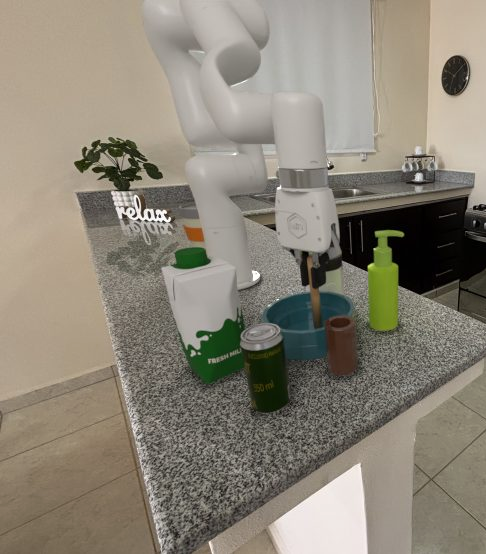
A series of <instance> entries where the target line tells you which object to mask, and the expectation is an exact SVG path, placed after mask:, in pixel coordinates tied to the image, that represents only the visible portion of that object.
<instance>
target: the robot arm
mask: <svg viewBox="0 0 486 554" xmlns="http://www.w3.org/2000/svg"><path fill="white" fill-rule="evenodd" d="M141 18H142V19H141V20H142V25H143V28H144V32H145V35H146V38H147V41H148V43H149V46H150V48H151V50H152V53H153V54H154V56H155V58H156V59H157V61H158V63H159V65H160V66H161V68H162V70H163V72H164V74H165V77H166V79H167V82H168V85H169V88H170V92H171V93H170V94H171V96H172V100H173V104H174V107H175V111H176V116H177V119H178V123H179V126H180V129H181V132H182V135H183V137H184V139H185V141H186V142H187V143H188V144H189V145H191V146H193V147H194V148H202V149H236V151H237V153H205V154H204V153H203V154H197V155H194V156H191V157H190V158H189V159H187V160H186V162H185V164H184V176H185V178H186V182H187V184H188V186H189V189H190V191H191V194H192V197H193V199H194V203H196V206H197V210H198V214H199V218H200V223H201V227H202V232H203V237H204V241H205V246H206V251H207V255H208V256H207V258H208V257H211V256H216V257H218V258H220V259H222V260H224V261H226V262H228V263H229V264H230V265H232V266H234V267H235V268H236V276H237V288H238V291H240V290H243V289H244V290H245V289H248V288H250V287H253V286H254V285H256V284H257V283H259V282H260V280H261V275H260V273H259V272H258V271H256V270H254V269H253V264H252V258H251V251H250V245H249V240H248V239H249V238H248V234H247V228H246V221H245V215H244V213H243V211H242V210H241V208H240V207H239V206H238V205H237V204H236V203H234V202H233V201H232V200H231V197H233V196H240V195H249V194H250V195H251V194H258V193H261V192H264V190H266V189H267V188H268V187H267V186H268V182H269V176H268V169H267V164H266V159H265V153H264V149H263V145H274V146H275V154H276V155H275V156H276V163H277V164H276V165H277V171H276V172H275V177H276V178H277V179H279V187H276V190H275V191H276V193H275V198H274V199H275V201H274V214H275V215H274V216H275V230H276V239H277V243H278V244H279V245H280V246H281V248H282V249H283V250H286V251H287V252H289V253H290V254H291V255H292V257H294V259H295V264H296V265H298V266H299V273H300V282H301V286H302V287H306V286H308V285H309V275H308V265H307V258H308V256H310V255H311V252H312V260H313V266H314V267H312V268H311V280H312V287H313V289H317V288H319V287H321V286H322V285H324V284H325V283H326V270H325V264H326V263H328V261H329V260H330V259H332V258H335V257H338V256H340V255H341V254H343V252H342V249H341V246H340V239H341V238H340V237H341V234H340V222H339V216H338V210H337V204H336V200H335V196H334V192H333V189H332V188H330V185H329V170H328V159H327V143H326V128H325V113H324V105H323V101H322V99H321V98H320V97H319V96H318V95H317V94H314V93H312V92H311V93H310V92H305V91H304V92H303V91H278V92H275V93H274V94H273V93H266V92H255V91H249V90H248V91H247V90H246V91H245V90H235V89H232V88H231V87H234V86H238V85H241V84H243V83H245V82H247V81H249V80H250V79H252V78H253V77H255V75H256V74H257V73H258V71H259V69H260V67H261V62H262V55H261V51H262V50H263V49H265V48H266V47H267V45H268V43H269V40H270V36H271V35H270V34H271V32H270V31H271V29H270V22H269V18H268V15H267V13H266V11H265V9H264V7H263V6H262V5H261V4H260V3H259V1H257V0H143V2H142V5H141ZM190 52H195V53H196V52H197V53H202V54H204V55H205V56H204V58H203V60H202V63H201V62H199V60H198V59H196V58H195V56H193V55H192V54H191V53H190ZM328 249H330V251H328Z"/></svg>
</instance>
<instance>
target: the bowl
mask: <svg viewBox="0 0 486 554" xmlns="http://www.w3.org/2000/svg"><path fill="white" fill-rule="evenodd" d="M319 293H320V304H321V315H322V326H323V327H322V328H318V329H314V324H313V314H312V304H311V294H310V292H306V291H302V292H297V293H293V294H288V295H287V296H283V297H280V298H279V299H276V300H275V301H272V302H271V303H270V304H268V305H267V306H266V307H265V308H264V309H263V311H262V314H261V316H260V317H261V324H263V323H271V324H275V325H277V326H279V327H280V331H281V333H282V334H283V339H284V346H285V354H286V360H296V361H307V360H316V359H321V358H324V357H327V352H326V340H325V328H324V324H325V321H326V320H328V319H329V318H331V317H334V316H339V315H346V316H350V317H352V318H354V319H355V320H356V307H355V304H354V301H353V300H352V299H350V297H348V296H346V295H345V294H344V295H345V296H344V295H341V294H338V293H334V292H326V291H319Z"/></svg>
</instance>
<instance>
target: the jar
mask: <svg viewBox="0 0 486 554" xmlns="http://www.w3.org/2000/svg"><path fill="white" fill-rule="evenodd" d="M328 251H330V249H328ZM342 254H343V253H342ZM342 254H341V255H340V256H338V257H335V258H332V259H330V260H329V261H328V263H326V264H325V270H326V283H325V284H324V285H322V286H321V287H319V291H326V292H334V293H338V294H341V295H344V296H346V295H345V277H344V263H343V255H342ZM311 255H312V252H311ZM305 292H310V285H308V286H306V287H305Z"/></svg>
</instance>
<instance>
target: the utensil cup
mask: <svg viewBox="0 0 486 554" xmlns="http://www.w3.org/2000/svg"><path fill="white" fill-rule="evenodd" d="M356 323H357V322H356V318H355V319H354V318H352V317H350V316H346V315H339V316H334V317H331V318H329V319H328V320H326V321H325V324H324V328H325V340H326V352H327V356H326V362H327V370H328V372H329V373H330V374H332V375H333V376H339V377H344V376H348V375H350V374H352V373H354V372H355V371H356V370H357V369H358V345H357V344H358V342H357V325H356Z"/></svg>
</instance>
